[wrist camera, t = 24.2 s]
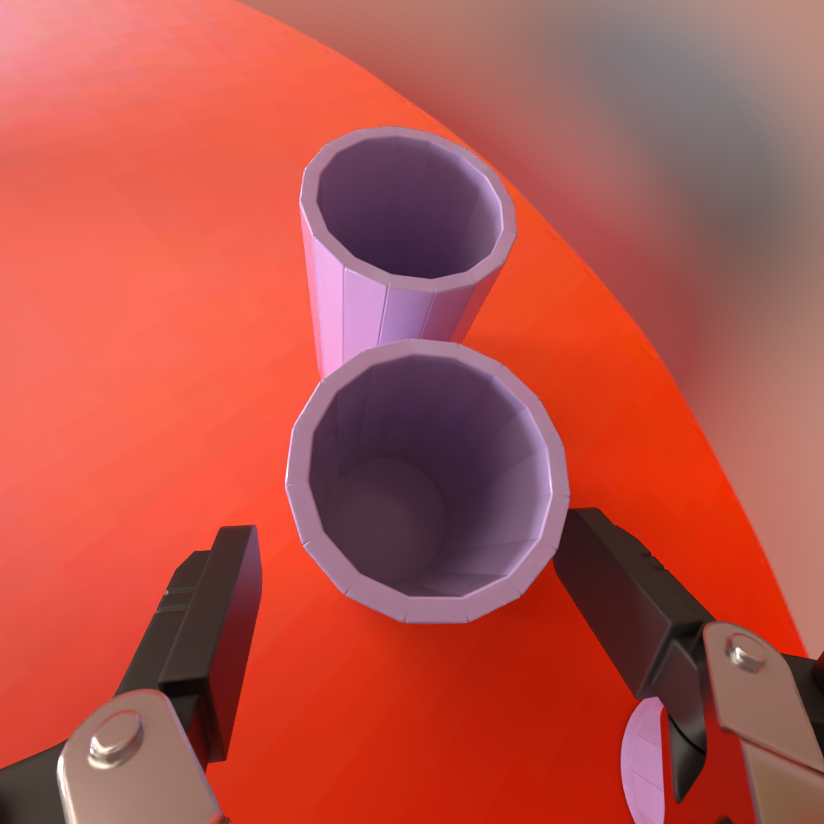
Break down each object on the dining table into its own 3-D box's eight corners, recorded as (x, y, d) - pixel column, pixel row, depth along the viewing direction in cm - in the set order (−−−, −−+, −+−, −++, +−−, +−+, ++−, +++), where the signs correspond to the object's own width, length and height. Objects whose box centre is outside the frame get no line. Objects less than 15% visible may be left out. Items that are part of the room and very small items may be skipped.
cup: (294, 362, 19) (252, 176, 10) (383, 301, 21) (414, 102, 12) (375, 450, 18) (411, 334, 9) (460, 377, 21) (557, 223, 11)
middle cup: (286, 514, 17) (221, 451, 8) (388, 427, 19) (434, 296, 10) (381, 625, 16) (437, 706, 7) (477, 521, 18) (619, 473, 9)
